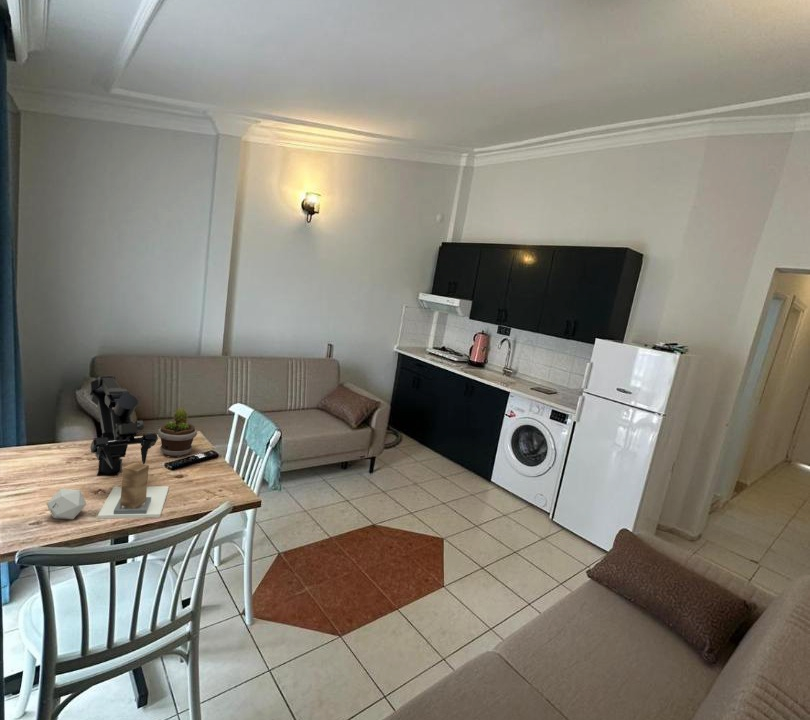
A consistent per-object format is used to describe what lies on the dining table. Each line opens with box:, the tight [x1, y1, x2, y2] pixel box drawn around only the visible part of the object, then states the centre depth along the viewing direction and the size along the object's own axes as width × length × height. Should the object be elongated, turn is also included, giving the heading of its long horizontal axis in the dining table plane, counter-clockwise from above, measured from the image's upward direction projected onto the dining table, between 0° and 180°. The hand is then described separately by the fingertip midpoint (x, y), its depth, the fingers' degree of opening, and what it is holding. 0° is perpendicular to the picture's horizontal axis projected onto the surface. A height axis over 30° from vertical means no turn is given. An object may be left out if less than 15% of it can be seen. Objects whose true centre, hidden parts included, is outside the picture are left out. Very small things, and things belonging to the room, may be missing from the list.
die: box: [46, 488, 87, 520], centre depth 138 cm, size 8×9×10 cm
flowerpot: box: [157, 406, 198, 458], centre depth 193 cm, size 14×15×20 cm
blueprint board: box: [96, 485, 170, 520], centre depth 152 cm, size 17×20×2 cm
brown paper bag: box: [120, 462, 150, 509], centre depth 146 cm, size 5×5×12 cm
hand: (128, 465), depth 151 cm, fingers open, 9 cm apart
